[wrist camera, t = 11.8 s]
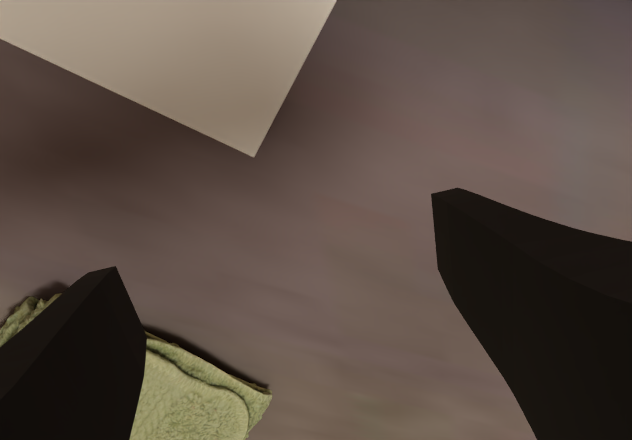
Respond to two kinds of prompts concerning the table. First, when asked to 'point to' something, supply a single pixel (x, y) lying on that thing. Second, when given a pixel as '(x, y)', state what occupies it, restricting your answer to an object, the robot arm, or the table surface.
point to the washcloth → (177, 390)
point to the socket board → (179, 54)
